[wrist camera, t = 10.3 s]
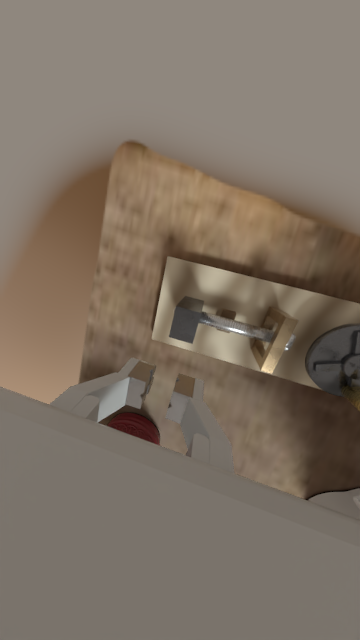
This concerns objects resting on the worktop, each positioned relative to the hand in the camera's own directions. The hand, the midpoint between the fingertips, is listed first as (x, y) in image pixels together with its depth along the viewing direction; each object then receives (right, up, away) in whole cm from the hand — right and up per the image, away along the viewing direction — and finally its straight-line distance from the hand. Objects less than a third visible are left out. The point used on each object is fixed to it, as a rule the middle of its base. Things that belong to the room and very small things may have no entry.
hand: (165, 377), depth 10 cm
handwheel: (+23, -2, +12) cm, 26 cm away
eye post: (+14, +2, +16) cm, 21 cm away
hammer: (+8, +3, +16) cm, 18 cm away
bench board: (+14, +2, +17) cm, 22 cm away
